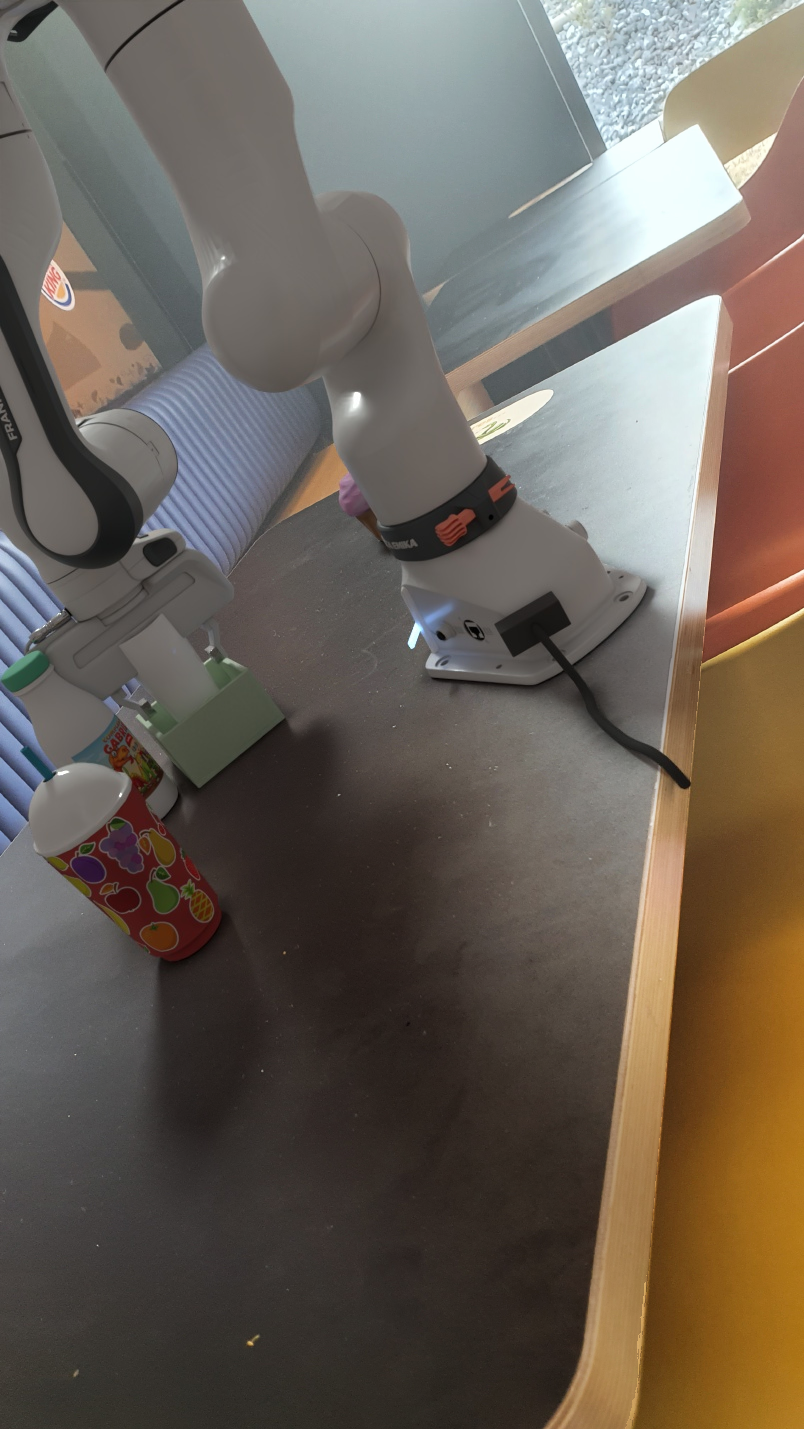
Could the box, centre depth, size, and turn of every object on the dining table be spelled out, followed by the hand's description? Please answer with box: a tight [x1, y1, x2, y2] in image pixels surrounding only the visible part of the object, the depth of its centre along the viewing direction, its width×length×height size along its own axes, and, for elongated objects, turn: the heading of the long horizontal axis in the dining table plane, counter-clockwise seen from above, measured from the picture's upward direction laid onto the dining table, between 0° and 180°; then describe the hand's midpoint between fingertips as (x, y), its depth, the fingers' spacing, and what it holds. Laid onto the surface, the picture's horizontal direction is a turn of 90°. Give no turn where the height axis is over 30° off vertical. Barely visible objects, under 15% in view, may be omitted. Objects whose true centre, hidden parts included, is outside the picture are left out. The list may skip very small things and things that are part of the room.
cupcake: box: [338, 472, 384, 542], centre depth 129 cm, size 9×9×10 cm
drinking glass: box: [119, 613, 220, 723], centre depth 100 cm, size 7×7×15 cm
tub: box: [135, 657, 286, 789], centre depth 103 cm, size 11×11×7 cm
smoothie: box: [19, 745, 222, 962], centre depth 72 cm, size 8×8×20 cm
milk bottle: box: [0, 651, 179, 821], centre depth 95 cm, size 8×8×20 cm
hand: (186, 687), depth 101 cm, fingers open, 8 cm apart
